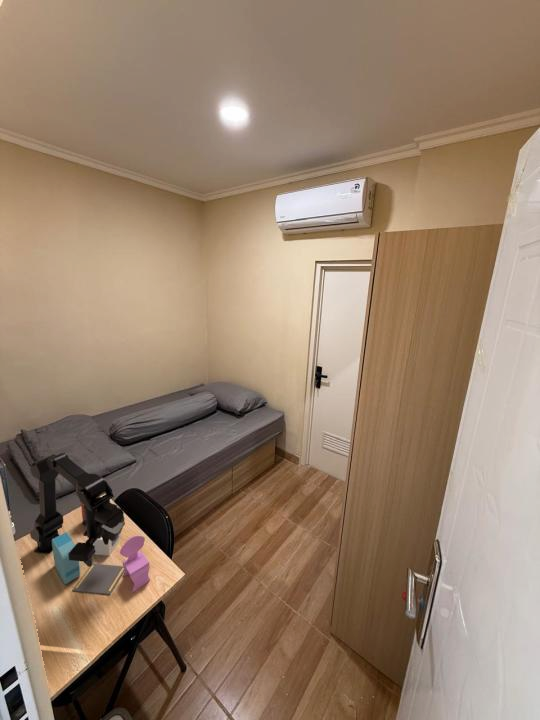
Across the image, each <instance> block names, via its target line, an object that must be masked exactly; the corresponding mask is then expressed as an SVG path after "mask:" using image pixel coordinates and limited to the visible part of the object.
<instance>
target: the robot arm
mask: <svg viewBox="0 0 540 720" xmlns="http://www.w3.org/2000/svg"><path fill="white" fill-rule="evenodd" d="M29 469H30V473H31V476H32V477H33V478H34V479H35V480H37V482H38V496H39V497H38V500H39V514H38V516H37V518H36V519H35V520H34V527H33V529H32V530H31V531H30V532H29V535H30V539H32V540H34V541H35V542H36V544H37V547H36V548H35V549H34V551H33V553H35V554H36V553H37V554H51V553H53V548H52V539H54V538H56V537H58V536H60V534H59V530H60V529H62V528H63V524H64V515H62V513H61V512H59V511H58V510H57V487H56V486H57V485H56V484H57V482H56V481H57V480H56V478H57V477H58V476H59V475H60V476H62V477H63V478H64V479H65V480H67V482H69V483H70V484H71V485H72V486H73V487H75V494H76V496H77V497H78V499H79V502H80V503H81V504H82V503H83V504H84V513H85V520H84V521H83V520H82V522H81V524H82V526H84V525H85V526H86V527H85V526H84V527H85V531H84V532H83V534H82V535H83V537H87V538H88V539H87V540H86V541H85V542H82V541H81V542H80V541H79V542H76V544H75V546H74V547H73V548H72V550H71V551H70V552H69V553H68V556H69V560H72V561H79V562H82V563H83V564H84V565H86V566H87V567H88V568H89V567H91V566H92V563H93V556H94V553H95V552H96V551H95V546H94V543H95V542H96V541H97V539H100V538H101V537H102V539H103V542H104V544H105V545H108V543H109V539H110V540H111V541H114V540H116V538H117V537H118V535H119V534H120V533H121V534H122V530H123V528H124V526H125V524H126V522H125V515H124V510H123V509H122V508H121V507H118V505H117V504H115V503H112V502H111V499H113V498H114V497H115V495H114V493H113V489H112V488H111V486H110V485H109V484H108V482H107V480H106V479H105V478H104V477H102V476H100V475H98V474H96V473H89V472H87V471H85V469H83V468H82V467H81V466H79V465H78V464H77V462H74V461H73V460H72V459H71V458H69V456H68V454H67V452H60V453H59V454H54V453H53V454H50V455H48V456H45V457H43V458H41V459H38V460H36V461H33V463H31V466H30V468H29ZM104 493H105V494H104ZM103 494H104V495H103ZM101 495H102V496H101Z"/></svg>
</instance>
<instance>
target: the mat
mask: <svg viewBox="0 0 540 720" xmlns="http://www.w3.org/2000/svg"><path fill="white" fill-rule="evenodd" d="M124 571H125V567H124V566H123V565H111V564H102V563H93V562H92V566H91V567H88V569H87V570H86V571H85V572H84V574H83V575H82V577H81V578H80V580H79V581H78V582H77V584H76V585H75V586H74V587H73V589H72V591H71V592H76V593H77V592H78V593H84V594H95V595H96V594H97V595H107V596H110V595H111V594H112V593H113V591H114V589H115V588H116V586H117V585H118V583H119V581H120V579H121V578H122V577H123V574H124Z"/></svg>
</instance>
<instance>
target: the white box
mask: <svg viewBox="0 0 540 720" xmlns="http://www.w3.org/2000/svg"><path fill="white" fill-rule="evenodd" d="M120 541H122V532H121V533H120V534H119V535H118V537H117V538H116V540H114V541H111V540H110V539H109V543H108V545H105V544H104V542H103V539H102V537H101V538H100V539H97V541H96V542H95V543H94V544H93V545H94V546H95V551H96V552H95V553H94V554H93V556H94V555H96V556H97V555H98V556H105V557H107V556H108V557H111V554H112V553H113V552H114V550H115V549H116V547H117V546H118V545H119V543H120Z"/></svg>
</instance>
